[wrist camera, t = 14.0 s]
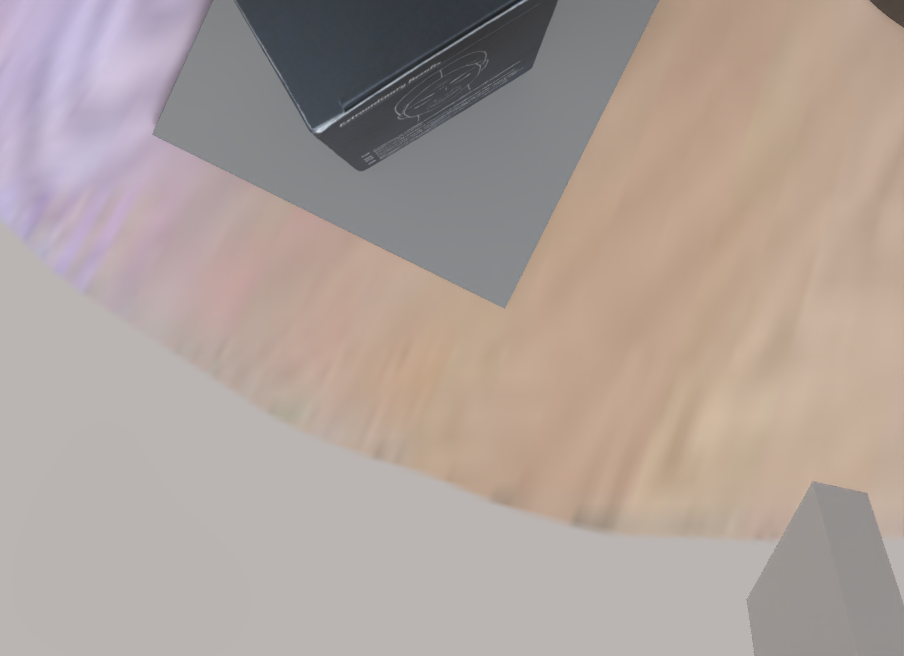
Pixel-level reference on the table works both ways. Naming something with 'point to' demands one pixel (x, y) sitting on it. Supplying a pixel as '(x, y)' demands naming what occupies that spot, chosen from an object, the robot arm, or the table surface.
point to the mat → (417, 144)
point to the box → (393, 63)
